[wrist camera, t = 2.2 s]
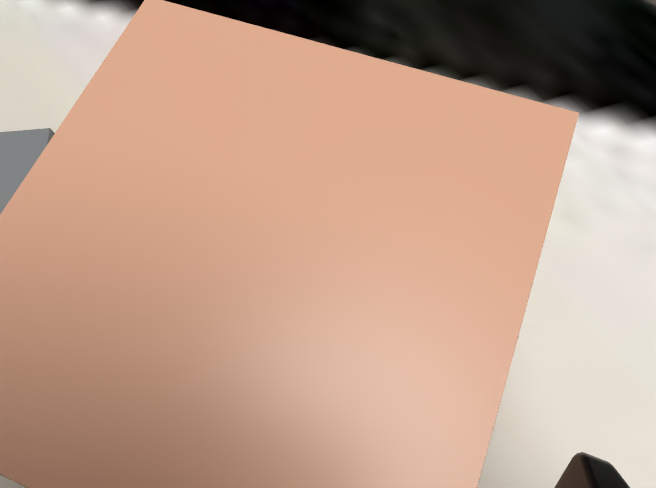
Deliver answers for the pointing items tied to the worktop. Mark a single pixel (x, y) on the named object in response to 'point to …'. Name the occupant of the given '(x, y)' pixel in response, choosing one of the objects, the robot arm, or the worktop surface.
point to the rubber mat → (19, 158)
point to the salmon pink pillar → (268, 267)
